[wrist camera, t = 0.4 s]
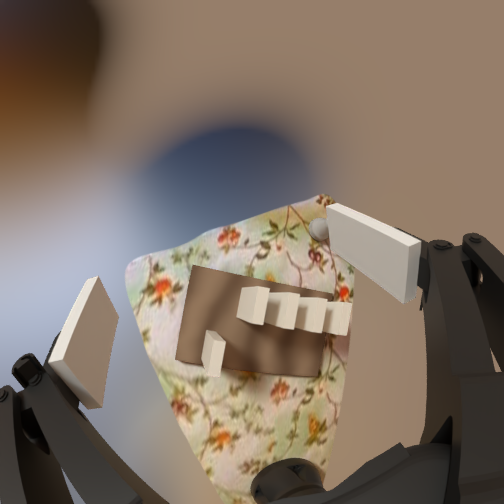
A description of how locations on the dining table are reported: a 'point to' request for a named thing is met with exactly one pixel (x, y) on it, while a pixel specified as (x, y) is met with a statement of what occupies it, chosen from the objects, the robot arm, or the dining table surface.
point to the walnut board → (245, 327)
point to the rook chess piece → (319, 229)
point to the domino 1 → (213, 353)
